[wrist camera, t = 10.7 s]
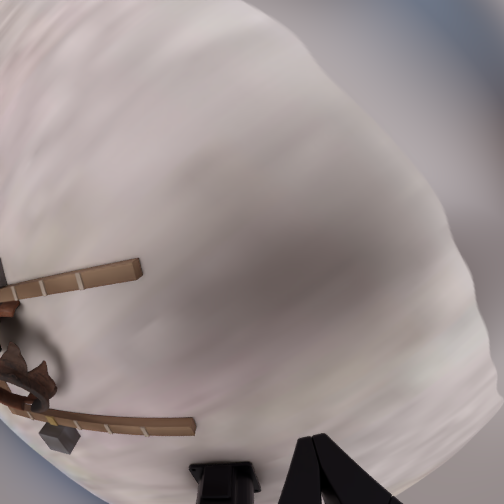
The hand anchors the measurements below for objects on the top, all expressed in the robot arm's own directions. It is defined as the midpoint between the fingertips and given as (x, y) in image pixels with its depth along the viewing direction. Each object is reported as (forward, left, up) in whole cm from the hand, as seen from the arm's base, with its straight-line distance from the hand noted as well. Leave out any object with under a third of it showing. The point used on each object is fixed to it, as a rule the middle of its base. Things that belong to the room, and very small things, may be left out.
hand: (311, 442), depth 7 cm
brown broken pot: (-1, +25, -12) cm, 28 cm away
